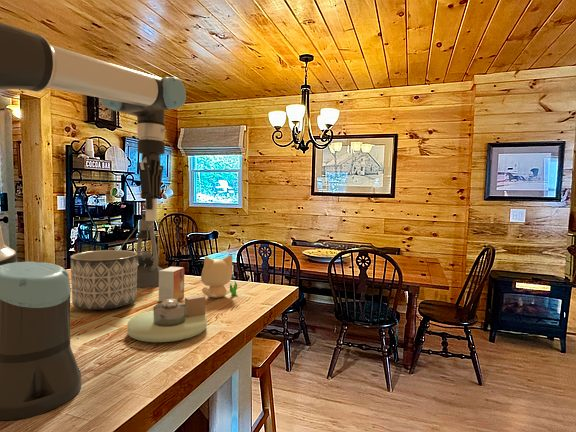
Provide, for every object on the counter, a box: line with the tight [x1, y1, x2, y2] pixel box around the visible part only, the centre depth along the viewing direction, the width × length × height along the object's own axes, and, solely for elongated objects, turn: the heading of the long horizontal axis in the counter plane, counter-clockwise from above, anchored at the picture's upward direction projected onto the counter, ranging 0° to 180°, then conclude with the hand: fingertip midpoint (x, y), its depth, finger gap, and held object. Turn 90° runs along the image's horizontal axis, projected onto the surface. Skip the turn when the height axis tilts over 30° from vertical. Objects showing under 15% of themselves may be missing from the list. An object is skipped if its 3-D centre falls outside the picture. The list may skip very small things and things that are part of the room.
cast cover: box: [153, 299, 185, 327], centre depth 97 cm, size 8×8×6 cm
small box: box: [158, 266, 185, 302], centre depth 128 cm, size 8×6×10 cm
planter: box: [69, 249, 138, 311], centre depth 119 cm, size 19×19×16 cm
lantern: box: [119, 212, 164, 289], centre depth 147 cm, size 18×20×30 cm
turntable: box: [127, 294, 208, 343], centre depth 98 cm, size 20×20×7 cm
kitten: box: [200, 254, 238, 298], centre depth 132 cm, size 15×10×15 cm
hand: (151, 220), depth 110 cm, fingers closed
